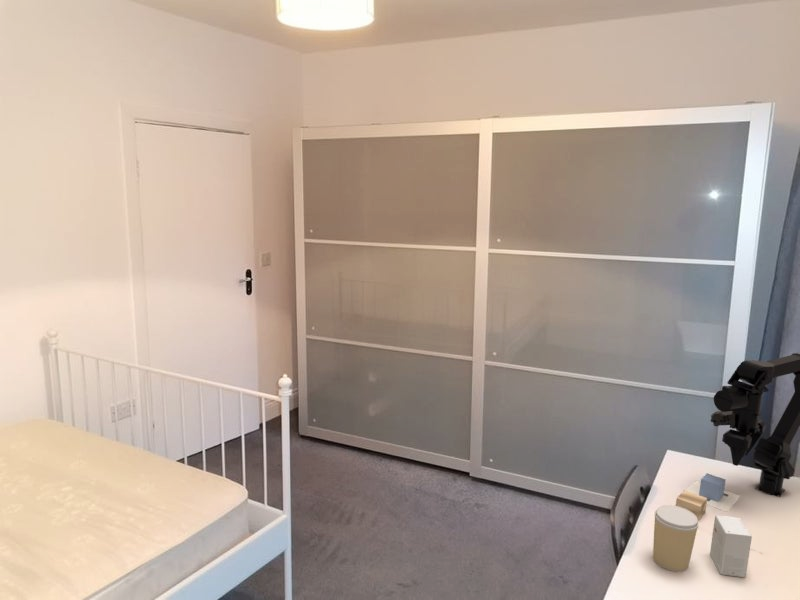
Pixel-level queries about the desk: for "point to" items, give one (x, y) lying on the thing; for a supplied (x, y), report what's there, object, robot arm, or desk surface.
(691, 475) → the desk surface
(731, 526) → the small box
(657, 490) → the desk surface
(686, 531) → the coffee cup
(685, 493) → the light oak block
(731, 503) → the board
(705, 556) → the desk surface
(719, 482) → the slate blue cube
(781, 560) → the desk surface
